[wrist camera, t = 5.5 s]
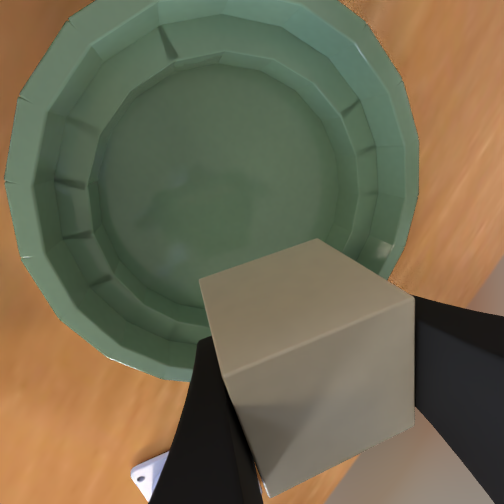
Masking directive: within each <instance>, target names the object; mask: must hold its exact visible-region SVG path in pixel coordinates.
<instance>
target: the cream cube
mask: <svg viewBox="0 0 504 504" xmlns="http://www.w3.org/2000/svg"><path fill="white" fill-rule="evenodd" d="M199 284H200V289H201V293H202V297H203V301H204V305H205V309H206V313H207V317H208V321H209V326H210V330H211V334H212V338H213V342H214V346H215V350H216V354H217V358H218V362H219V367H220V371H221V375H222V378H223V381H224V383H225V386H226V389H227V391H228V394H229V396H230V399H231V401H232V404H233V407H234V409H235V412H236V414H237V417H238V420H239V422H240V425H241V427H242V430H243V432H244V435H245V438H246V440H247V443H248V445H249V448H250V451H251V453H252V456H253V458H254V461H255V463H256V466H257V469H258V471H259V474H260V476H261V479H262V482H263V484H264V487H265V489H266V492H267V494H268V496H269V498H272V497H274V496H276V495H278V494H280V493H282V492H284V491H286V490H288V489H290V488H292V487H294V486H296V485H298V484H300V483H302V482H304V481H306V480H308V479H310V478H312V477H314V476H316V475H318V474H320V473H322V472H324V471H326V470H328V469H330V468H332V467H334V466H336V465H338V464H340V463H342V462H344V461H346V460H348V459H350V458H352V457H354V456H356V455H358V454H360V453H362V452H364V451H366V450H368V449H370V448H372V447H374V446H376V445H377V444H380V443H382V442H384V441H386V440H388V439H390V438H392V437H394V436H396V435H398V434H400V433H402V432H404V431H405V430H408V429H409V428H411V427H413V426H414V422H415V421H414V420H415V413H414V412H415V411H414V410H415V409H414V408H415V298H414V297H413V296H412V295H410V294H408V293H407V292H405V291H403V290H402V289H400V288H399V287H397V286H395V285H394V284H392V283H390V282H389V281H387V280H385V279H384V278H382V277H380V276H379V275H377V274H376V273H374V272H372V271H371V270H369V269H367V268H366V267H364V266H362V265H361V264H359V263H357V262H356V261H354V260H353V259H351V258H349V257H348V256H346V255H344V254H343V253H341V252H339V251H338V250H336V249H334V248H333V247H331V246H330V245H328V244H326V243H325V242H323V241H321V240H320V239H318V238H316V239H313V240H310V241H307V242H304V243H301V244H299V245H296V246H293V247H290V248H287V249H284V250H281V251H278V252H276V253H273V254H270V255H267V256H264V257H261V258H258V259H255V260H252V261H250V262H247V263H244V264H241V265H238V266H235V267H232V268H229V269H226V270H224V271H221V272H218V273H215V274H212V275H209V276H206V277H203V278H201V279H199Z"/></svg>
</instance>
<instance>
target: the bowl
mask: <svg viewBox="0 0 504 504" xmlns="http://www.w3.org/2000/svg"><path fill="white" fill-rule="evenodd" d="M68 20H69V21H66V22H65V23H64V25H63V27H62V28H61V30H60V31H59V33H58V34H57V36H56V37H55V39H54V41H53V42H52V44H51V45H50V47H49V48H48V50H47V51H46V53H45V55H44V56H43V58H42V59H41V61H40V62H39V64H38V65H37V67H36V68H35V70H34V72H33V73H32V75H31V76H30V78H29V79H28V81H27V82H26V84H25V86H24V87H23V89H22V90H21V92H20V96H21V97H18V99H17V105H16V111H15V117H14V123H13V128H12V134H11V140H10V146H9V152H8V158H7V164H6V170H5V175H4V180H5V189H6V193H7V198H8V203H9V207H10V212H11V217H12V221H13V226H14V231H15V235H16V240H17V244H18V249H19V254H20V257H22V258H21V261H22V262H23V264H24V265H25V267H26V269H27V270H28V272H29V273H30V275H31V276H32V278H33V280H34V281H35V283H36V284H37V286H38V287H39V289H40V290H41V292H42V294H43V295H44V297H45V298H46V300H47V301H48V303H49V305H50V306H51V308H52V309H53V311H54V312H55V314H56V316H57V317H58V318H59V319H60V320H61V321H62V322H63V323H65V324H66V325H67V326H68V327H70V328H71V329H72V330H73V331H75V332H76V333H77V334H78V335H80V336H81V337H82V338H83V339H85V340H86V341H87V342H88V343H90V344H91V345H92V346H93V347H95V348H96V349H97V350H98V351H100V352H101V353H102V354H103V355H105V356H106V357H107V358H109V359H112V360H114V361H117V362H119V363H122V364H124V365H127V366H129V367H132V368H135V369H137V370H140V371H142V372H145V373H147V374H150V375H152V376H155V377H158V378H160V379H164V380H174V381H185V382H190V381H191V377H192V372H193V367H194V362H195V356H196V349H197V343H198V341H199V340H201V339H204V338H206V337H209V336H211V335H212V334H211V330H210V326H209V321H208V317H207V313H206V309H205V305H204V301H203V297H202V293H201V289H200V284H199V279H201V278H203V277H206V276H209V275H212V274H215V273H218V272H221V271H224V270H226V269H229V268H232V267H235V266H238V265H241V264H244V263H247V262H250V261H252V260H255V259H258V258H261V257H264V256H267V255H270V254H273V253H276V252H278V251H281V250H284V249H287V248H290V247H293V246H296V245H299V244H301V243H304V242H307V241H310V240H313V239H316V238H318V239H320V240H321V241H323V242H325V243H326V244H328V245H330V246H331V247H333V248H334V249H336V250H338V251H339V252H341V253H343V254H344V255H346V256H348V257H349V258H351V259H353V260H354V261H356V262H357V263H359V264H361V265H362V266H364V267H366V268H367V269H369V270H371V271H372V272H374V273H376V274H377V275H379V276H380V277H382V278H384V279H385V280H388V278H389V276H390V274H391V272H392V270H393V269H394V267H395V265H396V263H397V261H398V259H399V257H400V256H401V254H402V252H403V250H404V247H405V245H406V241H407V237H408V233H409V230H410V226H411V222H412V218H413V215H414V211H415V207H416V203H417V199H418V197H417V196H418V195H419V140H418V138H419V137H418V134H417V130H416V126H415V123H414V119H413V115H412V111H411V108H410V104H409V100H408V97H407V93H406V89H405V86H404V82H403V81H402V77H401V76H400V74H399V73H398V71H397V69H396V68H395V66H394V65H393V63H392V62H391V60H390V59H389V57H388V55H387V54H386V52H385V51H384V49H383V48H382V46H381V45H380V43H379V41H378V40H377V38H376V37H375V35H374V34H373V32H372V30H371V29H370V27H369V26H368V24H366V22H365V21H364V20H363V19H361V18H360V17H359V16H358V15H356V14H355V13H354V12H352V11H351V10H350V9H348V8H347V7H346V6H345V5H343V4H342V3H341V2H339V1H338V0H95V1H93V2H92V3H90V4H89V5H87V6H86V7H84V8H83V9H81V10H80V11H78V12H76V13H75V14H73V15H72V16H70V17H69V18H68Z"/></svg>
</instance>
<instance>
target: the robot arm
mask: <svg viewBox="0 0 504 504" xmlns="http://www.w3.org/2000/svg"><path fill="white" fill-rule="evenodd" d="M412 296H413V297H414V298H415V407H416V408H417V409H418V410H419V411H420V412H421V413H422V414H423V415H424V416H425V418H426V419H427V420H428V421H429V422H430V423H431V424H432V425H433V427H434V428H435V429H436V430H437V431H438V433H439V434H440V435H441V436H442V437H443V439H444V440H445V441H446V442H447V444H448V445H449V446H450V447H451V448H452V450H453V451H454V452H455V453H456V454H457V456H458V457H459V458H460V459H461V460H462V462H463V463H464V465H465V466H466V467H467V468H468V470H469V471H470V472H471V473H472V475H473V476H474V477H475V478H476V480H477V481H478V482H479V484H480V485H481V486H482V487H483V488H484V490H485V491H486V492H487V494H488V495H489V496H490V498H491V499H492V500H493V502H494V503H495V504H504V317H503V316H498V315H493V314H487V313H482V312H477V311H473V310H468V309H464V308H460V307H456V306H452V305H448V304H443V303H440V302H436V301H432V300H428V299H425V298H421V297H417V296H414V295H412ZM131 478H132V479H133V481H134V482H135V484H136V485H137V486H138V488H139V489H140V491H141V492H142V494H143V495H144V496H145V498H146V499H147V501H148V502H149V503H148V504H263V500H262V496H261V494H262V488H261V485H260V483H259V480H258V478H257V473H256V468H255V463H254V458H253V456H252V453H251V451H250V448H249V445H248V443H247V440H246V438H245V435H244V432H243V430H242V427H241V425H240V422H239V420H238V417H237V414H236V412H235V409H234V407H233V404H232V401H231V399H230V396H229V394H228V391H227V389H226V386H225V383H224V381H223V378H222V375H221V371H220V367H219V362H218V358H217V354H216V350H215V346H214V342H213V338H212V335H211V336H209V337H206V338H204V339H201V340H199V341H198V343H197V349H196V356H195V362H194V367H193V372H192V377H191V381H190V385H189V389H188V393H187V397H186V401H185V405H184V408H183V411H182V414H181V418H180V421H179V424H178V427H177V431H176V434H175V437H174V439H173V442H172V445H171V448H170V451H168V452H166V453H163V454H161V455H159V456H156V457H154V458H152V459H150V460H147V461H145V462H143V463H141V464H138V465H136V466H134V467H133V468H132V470H131Z"/></svg>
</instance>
